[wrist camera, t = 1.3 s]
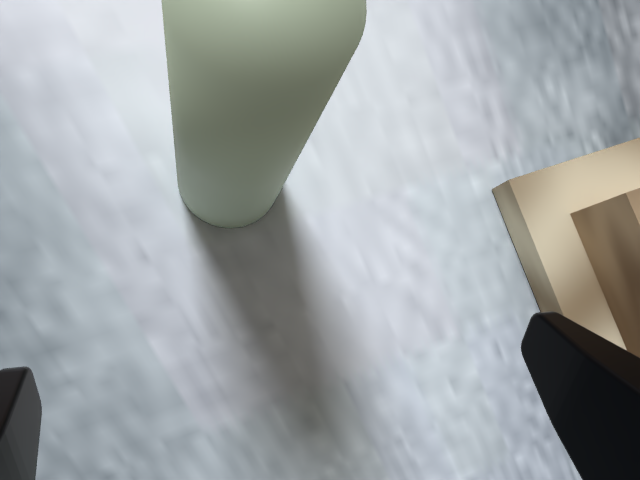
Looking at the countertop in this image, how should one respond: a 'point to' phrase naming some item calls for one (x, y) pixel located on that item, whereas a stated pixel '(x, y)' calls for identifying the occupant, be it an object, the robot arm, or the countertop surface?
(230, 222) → the post
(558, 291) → the socket base
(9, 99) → the countertop surface
